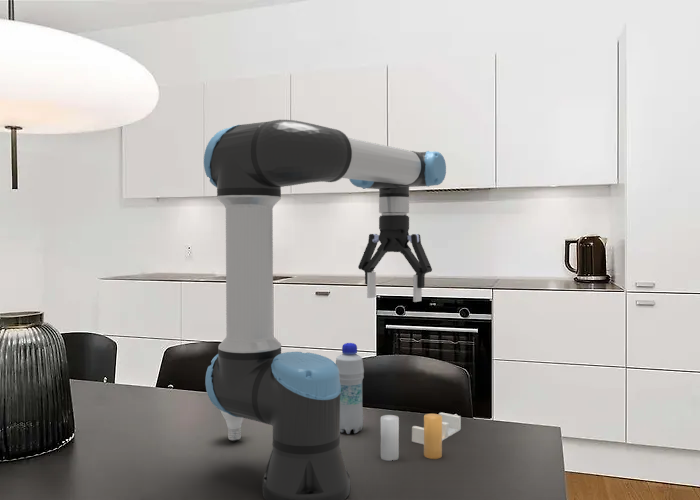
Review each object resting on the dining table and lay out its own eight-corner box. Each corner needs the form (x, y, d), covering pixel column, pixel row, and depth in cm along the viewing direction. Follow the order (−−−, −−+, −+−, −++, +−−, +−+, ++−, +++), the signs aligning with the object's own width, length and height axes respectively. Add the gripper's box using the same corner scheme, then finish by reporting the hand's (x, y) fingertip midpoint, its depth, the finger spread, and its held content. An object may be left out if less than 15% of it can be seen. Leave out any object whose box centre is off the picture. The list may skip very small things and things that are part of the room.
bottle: (365, 426, 140) (365, 340, 139) (362, 436, 133) (363, 346, 133) (336, 425, 141) (336, 340, 140) (332, 435, 134) (332, 345, 133)
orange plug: (436, 460, 119) (436, 420, 119) (420, 456, 122) (420, 416, 121) (445, 454, 122) (445, 415, 122) (429, 450, 125) (429, 412, 124)
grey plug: (392, 462, 119) (392, 421, 118) (377, 458, 121) (377, 418, 120) (402, 456, 121) (402, 417, 121) (386, 452, 124) (387, 413, 123)
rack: (432, 446, 127) (432, 431, 127) (411, 441, 130) (411, 427, 130) (460, 429, 138) (460, 416, 138) (441, 425, 141) (441, 412, 140)
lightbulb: (213, 442, 129) (212, 391, 129) (232, 433, 135) (231, 385, 134) (236, 447, 126) (236, 395, 126) (255, 438, 132) (255, 388, 131)
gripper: (446, 214, 147) (445, 301, 147) (362, 215, 161) (361, 294, 162) (430, 213, 141) (430, 304, 141) (345, 215, 155) (345, 297, 156)
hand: (393, 299), depth 152 cm, fingers open, 13 cm apart
